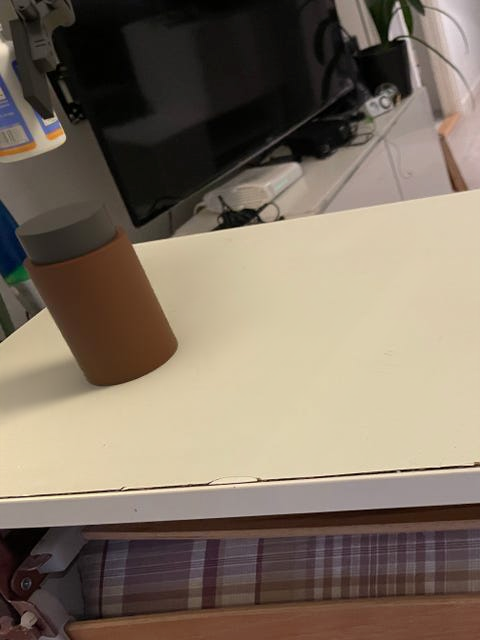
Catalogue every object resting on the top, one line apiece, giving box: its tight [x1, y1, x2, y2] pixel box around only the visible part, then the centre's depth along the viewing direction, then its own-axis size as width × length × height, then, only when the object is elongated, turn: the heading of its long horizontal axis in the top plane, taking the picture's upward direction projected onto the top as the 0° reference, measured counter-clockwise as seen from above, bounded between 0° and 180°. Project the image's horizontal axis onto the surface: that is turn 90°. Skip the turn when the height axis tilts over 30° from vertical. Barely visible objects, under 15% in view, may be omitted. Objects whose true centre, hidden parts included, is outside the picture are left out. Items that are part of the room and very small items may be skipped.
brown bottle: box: [14, 199, 179, 387], centre depth 64 cm, size 8×8×14 cm
